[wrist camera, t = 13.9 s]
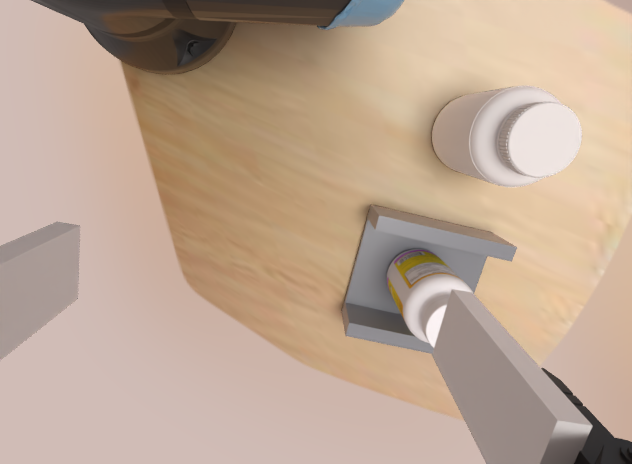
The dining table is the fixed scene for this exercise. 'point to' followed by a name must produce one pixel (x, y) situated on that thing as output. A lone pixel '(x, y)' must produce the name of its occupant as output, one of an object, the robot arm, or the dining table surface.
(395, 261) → the supplement bottle
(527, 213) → the dining table surface
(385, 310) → the u cradle
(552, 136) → the pill bottle
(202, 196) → the dining table surface
